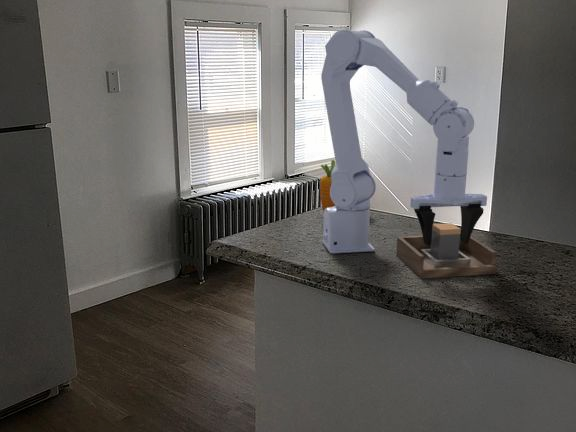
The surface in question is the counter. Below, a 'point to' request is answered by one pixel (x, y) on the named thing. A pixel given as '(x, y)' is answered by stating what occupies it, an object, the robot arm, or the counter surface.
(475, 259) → the walnut box
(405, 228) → the counter surface
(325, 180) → the carrot
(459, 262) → the frame
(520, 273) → the counter surface
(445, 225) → the two-tone rectangular block
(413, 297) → the counter surface
